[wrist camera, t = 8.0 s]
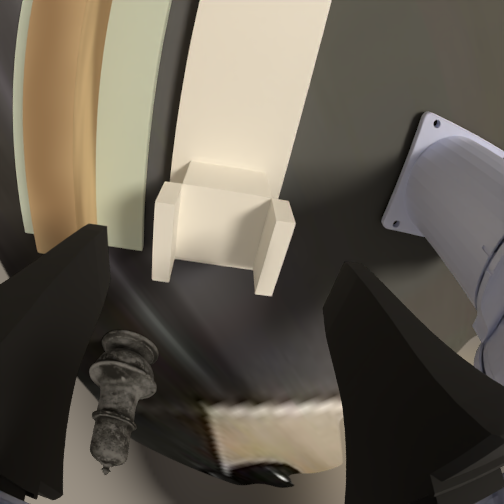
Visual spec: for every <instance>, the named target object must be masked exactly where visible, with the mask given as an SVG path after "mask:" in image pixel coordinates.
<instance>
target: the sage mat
mask: <svg viewBox="0 0 504 504" xmlns="http://www.w3.org/2000/svg"><path fill="white" fill-rule="evenodd" d="M171 2H172V0H112V5H111V10H110V16H109V21H108V27H107V33H106V39H105V45H104V53H103V60H102V68H101V77H100V87H99V99H98V113H97V132H96V208H97V225H103V226H107V233H108V246H112V247H119V248H125V249H132V250H138V251H142V249H143V247H144V213H145V193H146V177H147V164H148V152H149V141H150V131H151V122H152V113H153V105H154V98H155V90H156V83H157V77H158V70H159V64H160V58H161V52H162V47H163V41H164V36H165V31H166V26H167V21H168V16H169V11H170V7H171ZM32 3H33V0H23V2H22V7H21V13H20V19H19V26H18V34H17V42H16V52H15V64H14V81H13V134H14V151H15V164H16V174H17V183H18V191H19V198H20V205H21V211H22V217H23V223H24V228H25V233H31V234H34V231H33V225H32V219H31V213H30V206H29V198H28V190H27V182H26V172H25V160H24V143H23V79H24V64H25V52H26V43H27V34H28V27H29V20H30V14H31V8H32Z"/></svg>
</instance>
